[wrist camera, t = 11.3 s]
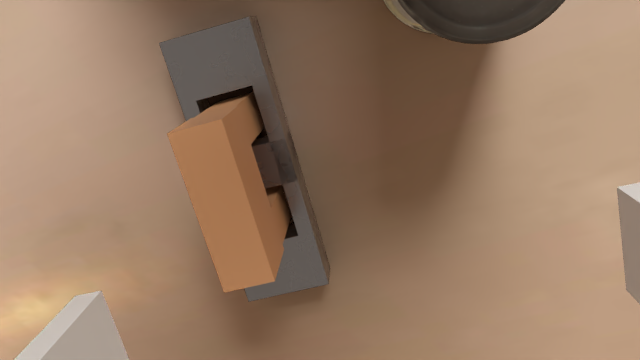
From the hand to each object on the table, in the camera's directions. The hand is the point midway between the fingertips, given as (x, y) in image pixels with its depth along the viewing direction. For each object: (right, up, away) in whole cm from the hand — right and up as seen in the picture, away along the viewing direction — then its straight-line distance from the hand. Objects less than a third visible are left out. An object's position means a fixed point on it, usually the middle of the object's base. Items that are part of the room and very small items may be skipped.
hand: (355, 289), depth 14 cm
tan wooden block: (-6, +4, +32) cm, 33 cm away
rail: (-6, +4, +32) cm, 33 cm away
